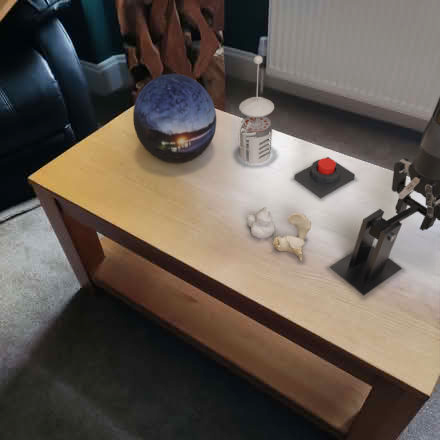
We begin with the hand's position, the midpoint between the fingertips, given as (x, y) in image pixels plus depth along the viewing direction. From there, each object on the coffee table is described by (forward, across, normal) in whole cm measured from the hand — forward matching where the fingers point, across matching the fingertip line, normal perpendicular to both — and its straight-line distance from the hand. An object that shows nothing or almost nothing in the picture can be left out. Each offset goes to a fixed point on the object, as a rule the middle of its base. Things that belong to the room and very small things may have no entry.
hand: (411, 219), depth 84 cm
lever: (-3, 0, +6) cm, 6 cm away
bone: (+8, +13, +19) cm, 24 cm away
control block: (+8, +25, -3) cm, 27 cm away
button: (+4, +25, -3) cm, 26 cm away
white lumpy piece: (+8, +21, +20) cm, 31 cm away
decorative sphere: (+8, +56, +19) cm, 60 cm away
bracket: (+8, 0, +11) cm, 13 cm away
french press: (+8, +43, +5) cm, 44 cm away
